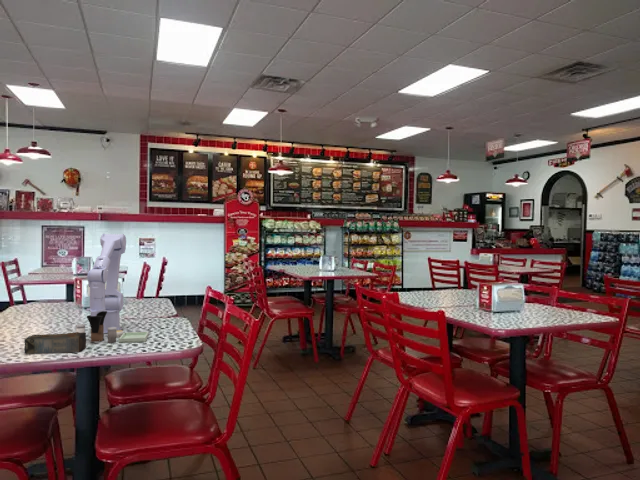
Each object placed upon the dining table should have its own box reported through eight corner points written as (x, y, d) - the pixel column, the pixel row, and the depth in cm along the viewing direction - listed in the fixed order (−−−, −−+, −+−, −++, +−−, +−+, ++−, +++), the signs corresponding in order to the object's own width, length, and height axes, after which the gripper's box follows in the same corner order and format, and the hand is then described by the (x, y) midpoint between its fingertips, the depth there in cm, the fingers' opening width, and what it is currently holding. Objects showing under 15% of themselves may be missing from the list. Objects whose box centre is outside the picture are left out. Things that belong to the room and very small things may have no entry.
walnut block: (93, 339, 194) (93, 325, 194) (103, 339, 195) (103, 324, 195) (90, 341, 190) (90, 327, 190) (101, 341, 191) (101, 326, 191)
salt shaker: (77, 338, 195) (77, 324, 195) (85, 338, 196) (85, 324, 196) (75, 340, 192) (75, 325, 192) (83, 340, 193) (84, 325, 193)
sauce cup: (113, 336, 201) (113, 330, 201) (123, 335, 202) (123, 329, 202) (112, 338, 197) (112, 332, 197) (122, 337, 198) (122, 331, 198)
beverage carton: (32, 349, 177) (32, 332, 177) (87, 348, 181) (87, 331, 181) (23, 355, 169) (23, 337, 169) (80, 353, 173) (80, 335, 173)
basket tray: (123, 336, 199) (123, 332, 199) (148, 335, 202) (148, 331, 202) (118, 343, 188) (118, 338, 188) (145, 342, 190) (145, 337, 190)
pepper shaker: (108, 341, 191) (108, 326, 191) (117, 341, 192) (117, 326, 191) (106, 343, 187) (106, 328, 187) (115, 343, 188) (115, 328, 188)
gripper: (90, 296, 199) (90, 327, 199) (82, 300, 185) (82, 334, 185) (108, 295, 200) (108, 327, 200) (101, 300, 186) (101, 334, 186)
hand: (97, 330), depth 193 cm, fingers open, 7 cm apart
